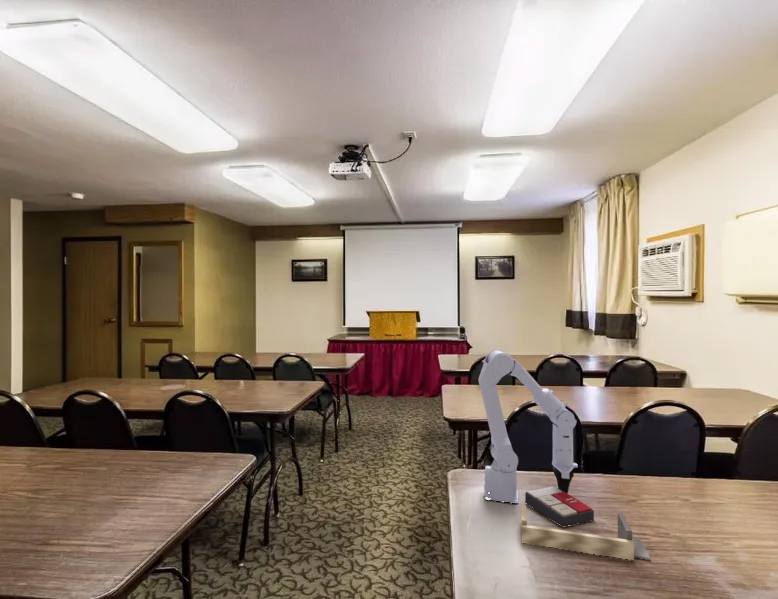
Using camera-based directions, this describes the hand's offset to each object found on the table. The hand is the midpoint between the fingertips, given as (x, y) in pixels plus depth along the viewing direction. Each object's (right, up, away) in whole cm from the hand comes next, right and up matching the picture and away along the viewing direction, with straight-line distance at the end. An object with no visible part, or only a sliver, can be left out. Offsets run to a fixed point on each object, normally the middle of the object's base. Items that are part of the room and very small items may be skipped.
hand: (563, 493), depth 127 cm
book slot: (-5, -1, -23) cm, 24 cm away
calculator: (-5, -2, -8) cm, 9 cm away
